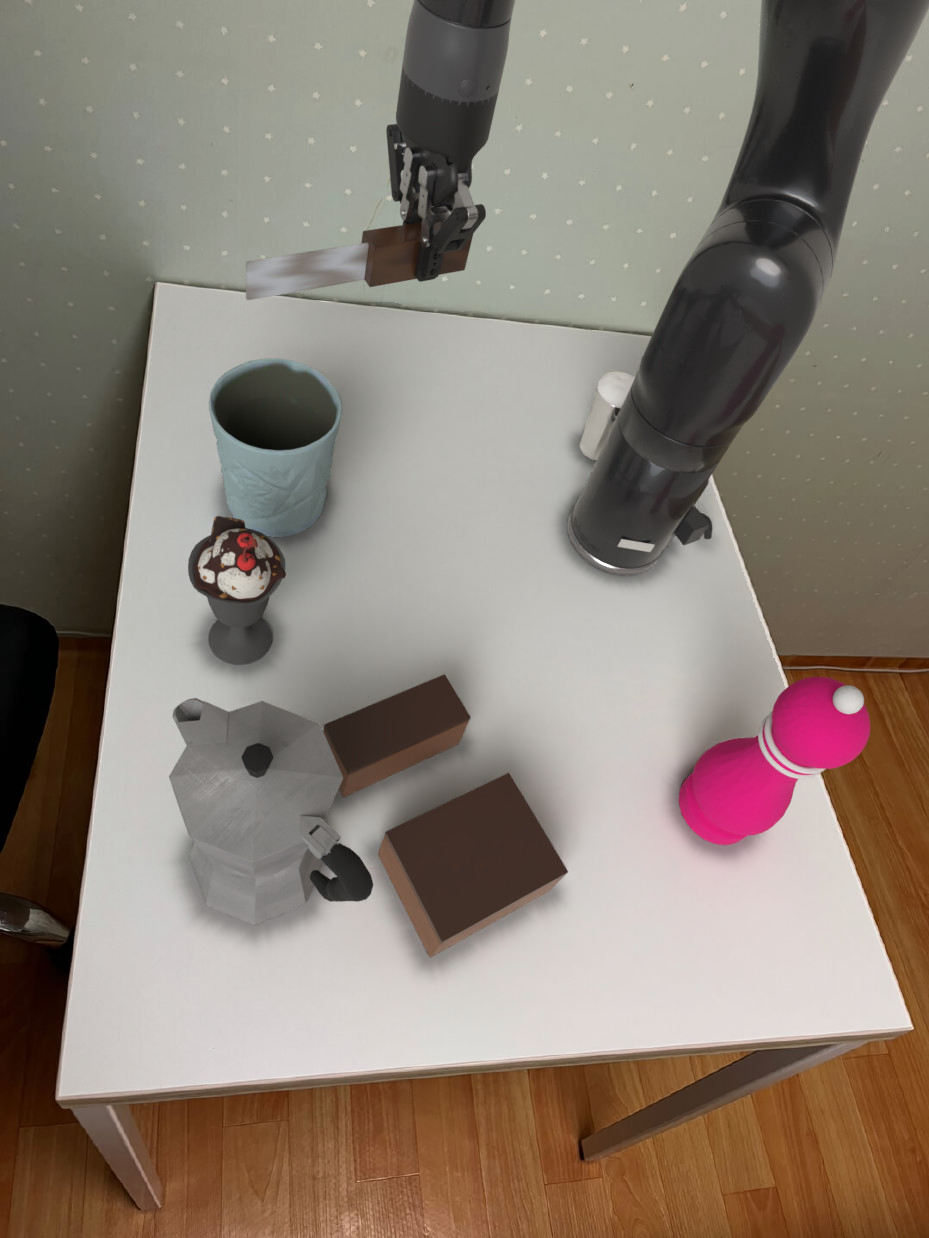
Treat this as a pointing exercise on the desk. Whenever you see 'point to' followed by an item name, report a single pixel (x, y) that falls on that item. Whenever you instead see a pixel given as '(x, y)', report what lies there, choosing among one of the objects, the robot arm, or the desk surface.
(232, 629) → the sundae
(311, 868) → the coffeepot
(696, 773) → the pepper mill
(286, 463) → the blue ceramic cup
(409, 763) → the cake slice
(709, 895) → the desk surface
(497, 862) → the cake
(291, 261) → the knife
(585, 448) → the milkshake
